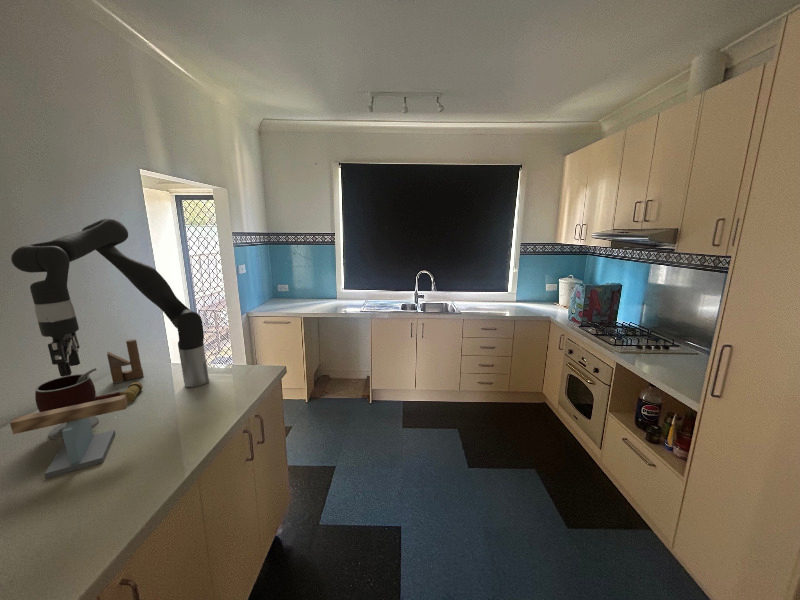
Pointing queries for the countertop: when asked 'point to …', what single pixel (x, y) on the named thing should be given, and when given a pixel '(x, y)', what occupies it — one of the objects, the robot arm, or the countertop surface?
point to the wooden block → (117, 362)
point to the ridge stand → (80, 448)
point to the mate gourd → (65, 396)
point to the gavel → (125, 392)
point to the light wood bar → (68, 414)
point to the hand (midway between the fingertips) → (71, 370)
